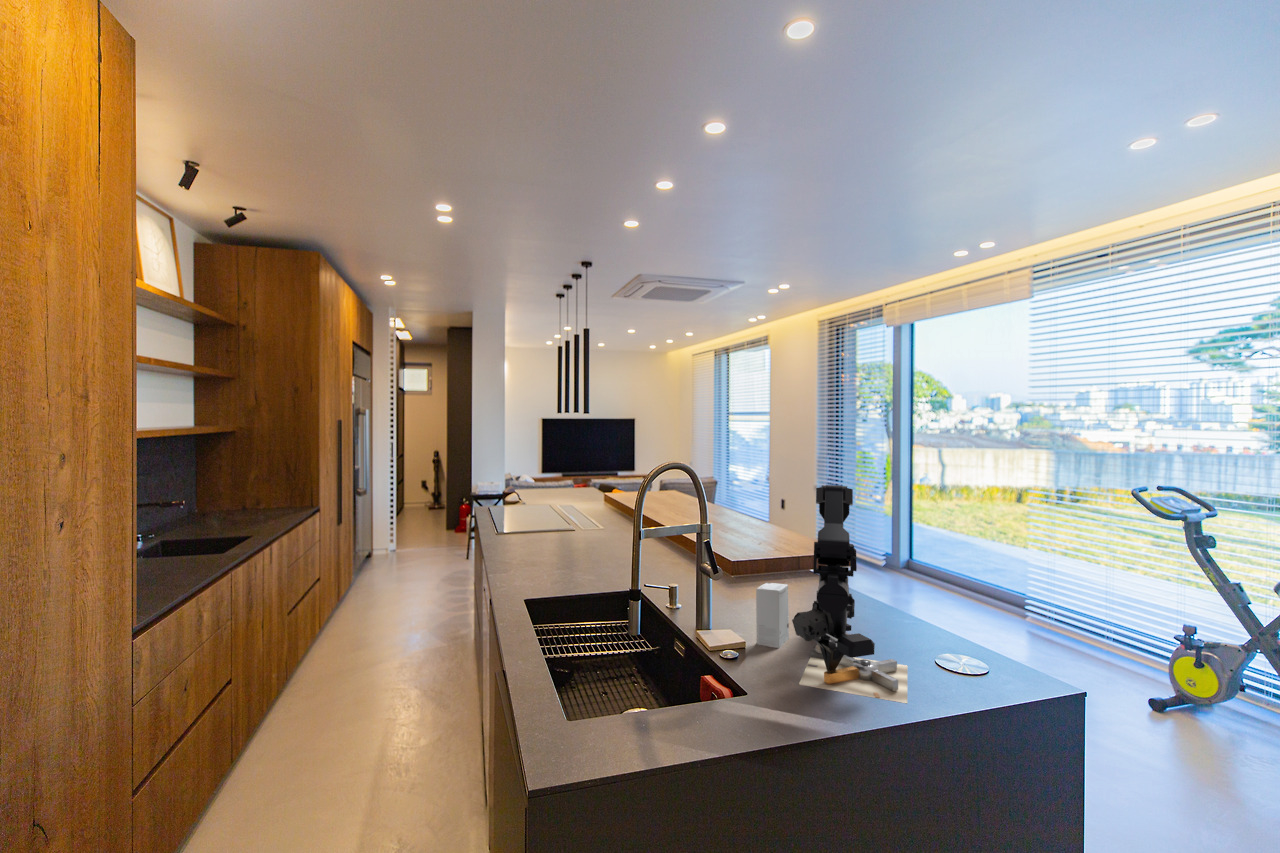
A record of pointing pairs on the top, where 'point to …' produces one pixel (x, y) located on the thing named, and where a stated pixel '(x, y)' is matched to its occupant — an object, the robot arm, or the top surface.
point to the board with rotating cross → (854, 680)
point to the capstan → (864, 672)
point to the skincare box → (772, 614)
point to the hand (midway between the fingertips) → (830, 673)
